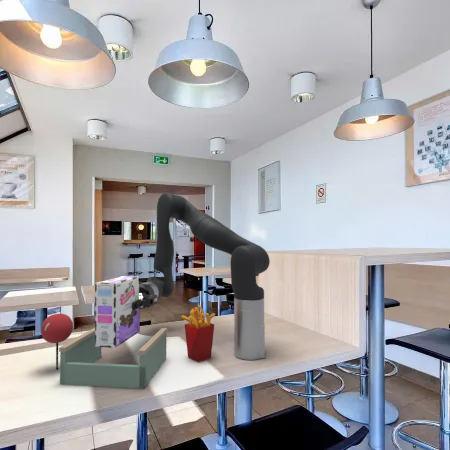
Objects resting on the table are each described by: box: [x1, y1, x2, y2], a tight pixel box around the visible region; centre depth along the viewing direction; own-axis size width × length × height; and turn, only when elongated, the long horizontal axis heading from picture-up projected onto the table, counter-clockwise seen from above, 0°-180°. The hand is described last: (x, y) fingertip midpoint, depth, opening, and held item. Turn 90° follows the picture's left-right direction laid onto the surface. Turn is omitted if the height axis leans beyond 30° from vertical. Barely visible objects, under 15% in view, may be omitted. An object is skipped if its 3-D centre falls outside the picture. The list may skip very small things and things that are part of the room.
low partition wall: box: [58, 327, 168, 390], centre depth 85 cm, size 22×18×9 cm
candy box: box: [94, 275, 141, 349], centre depth 86 cm, size 14×6×16 cm, turn 169°
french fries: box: [180, 304, 216, 363], centre depth 94 cm, size 9×8×15 cm
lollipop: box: [40, 313, 74, 370], centre depth 86 cm, size 8×8×15 cm
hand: (122, 306), depth 87 cm, fingers closed on candy box, 6 cm apart
